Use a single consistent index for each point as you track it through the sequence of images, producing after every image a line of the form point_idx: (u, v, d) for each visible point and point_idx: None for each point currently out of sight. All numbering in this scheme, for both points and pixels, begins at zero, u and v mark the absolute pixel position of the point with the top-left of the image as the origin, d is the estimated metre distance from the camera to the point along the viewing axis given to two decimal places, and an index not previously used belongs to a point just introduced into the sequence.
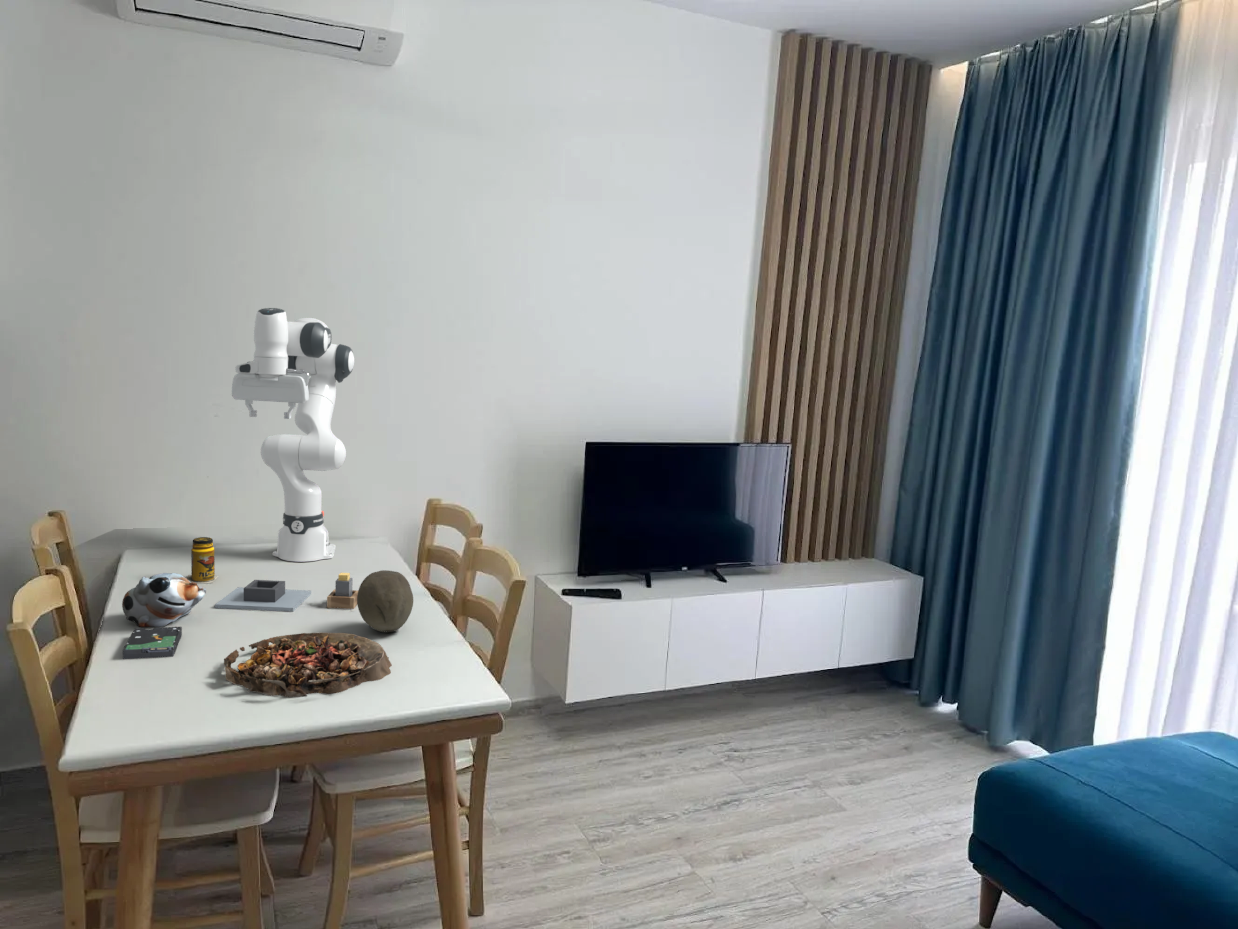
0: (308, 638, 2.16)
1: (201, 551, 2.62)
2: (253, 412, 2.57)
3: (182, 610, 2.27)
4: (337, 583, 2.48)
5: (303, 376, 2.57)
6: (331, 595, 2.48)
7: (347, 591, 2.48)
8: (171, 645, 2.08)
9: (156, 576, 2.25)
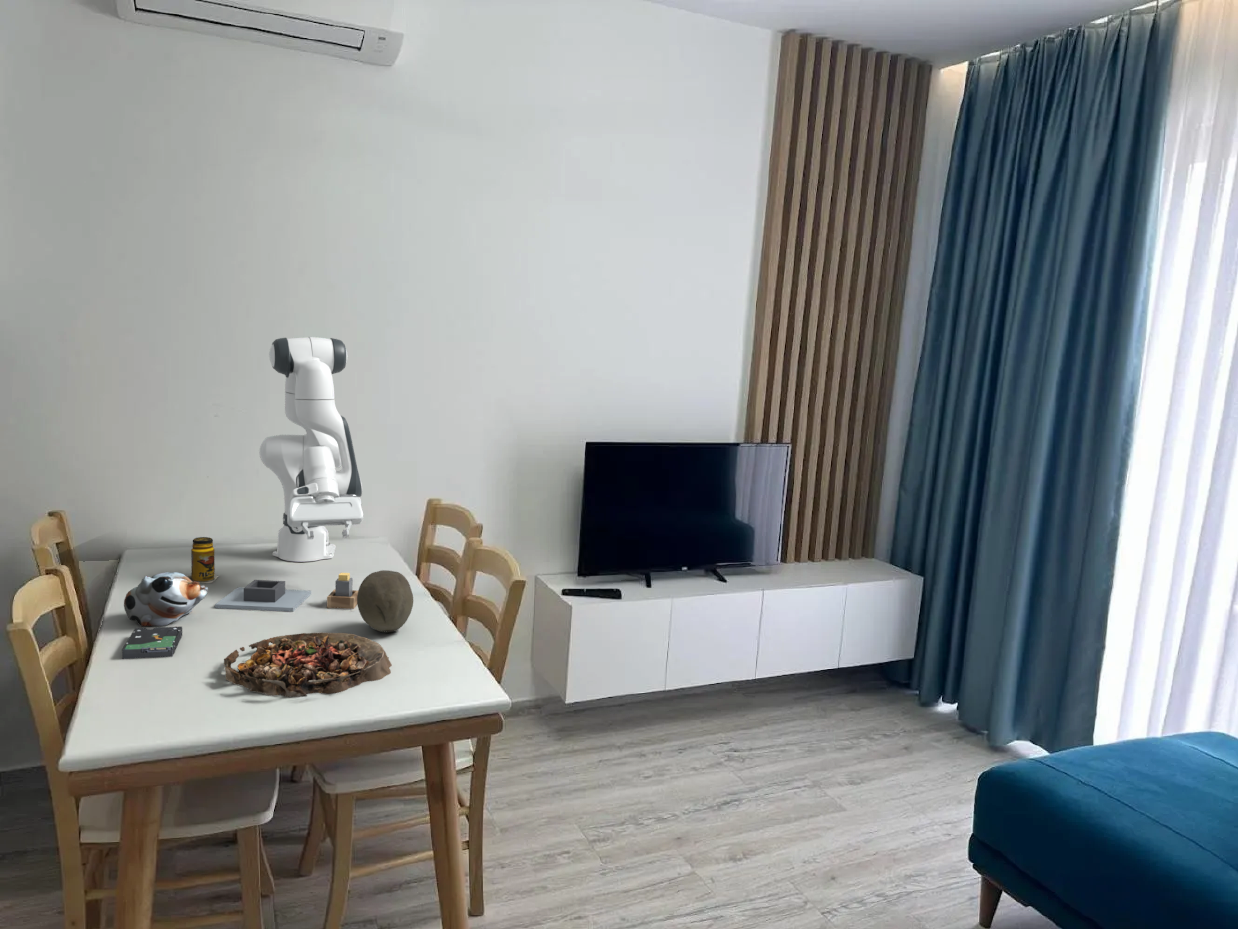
0: (308, 638, 2.16)
1: (201, 551, 2.62)
2: (312, 532, 2.54)
3: (184, 609, 2.27)
4: (337, 583, 2.48)
5: None
6: (331, 595, 2.48)
7: (347, 591, 2.48)
8: (170, 645, 2.08)
9: (158, 575, 2.25)
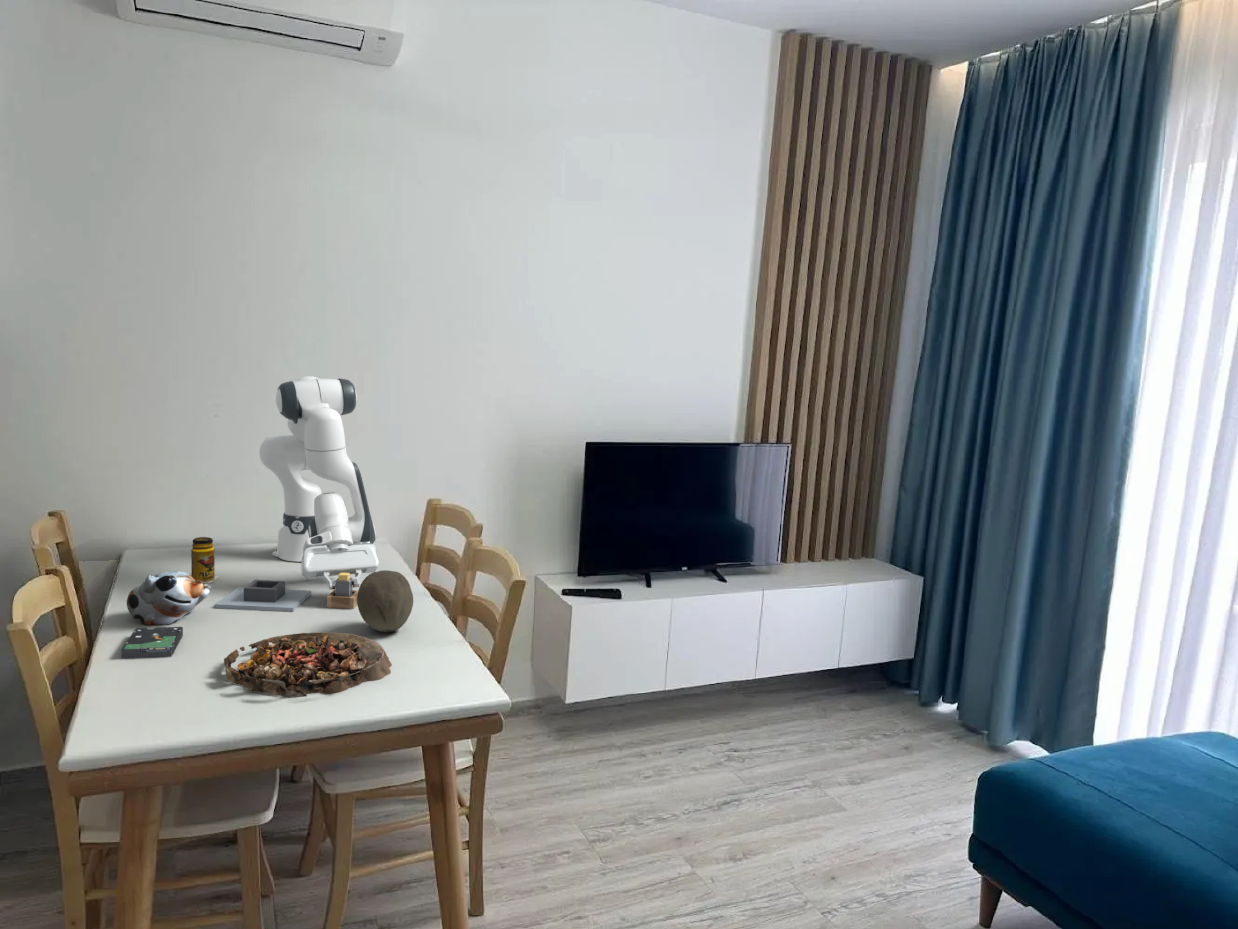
0: (308, 638, 2.16)
1: (201, 551, 2.62)
2: (333, 582, 2.48)
3: (188, 608, 2.29)
4: (337, 583, 2.48)
5: (370, 546, 2.60)
6: (331, 595, 2.48)
7: (347, 591, 2.48)
8: (170, 645, 2.08)
9: (162, 574, 2.27)
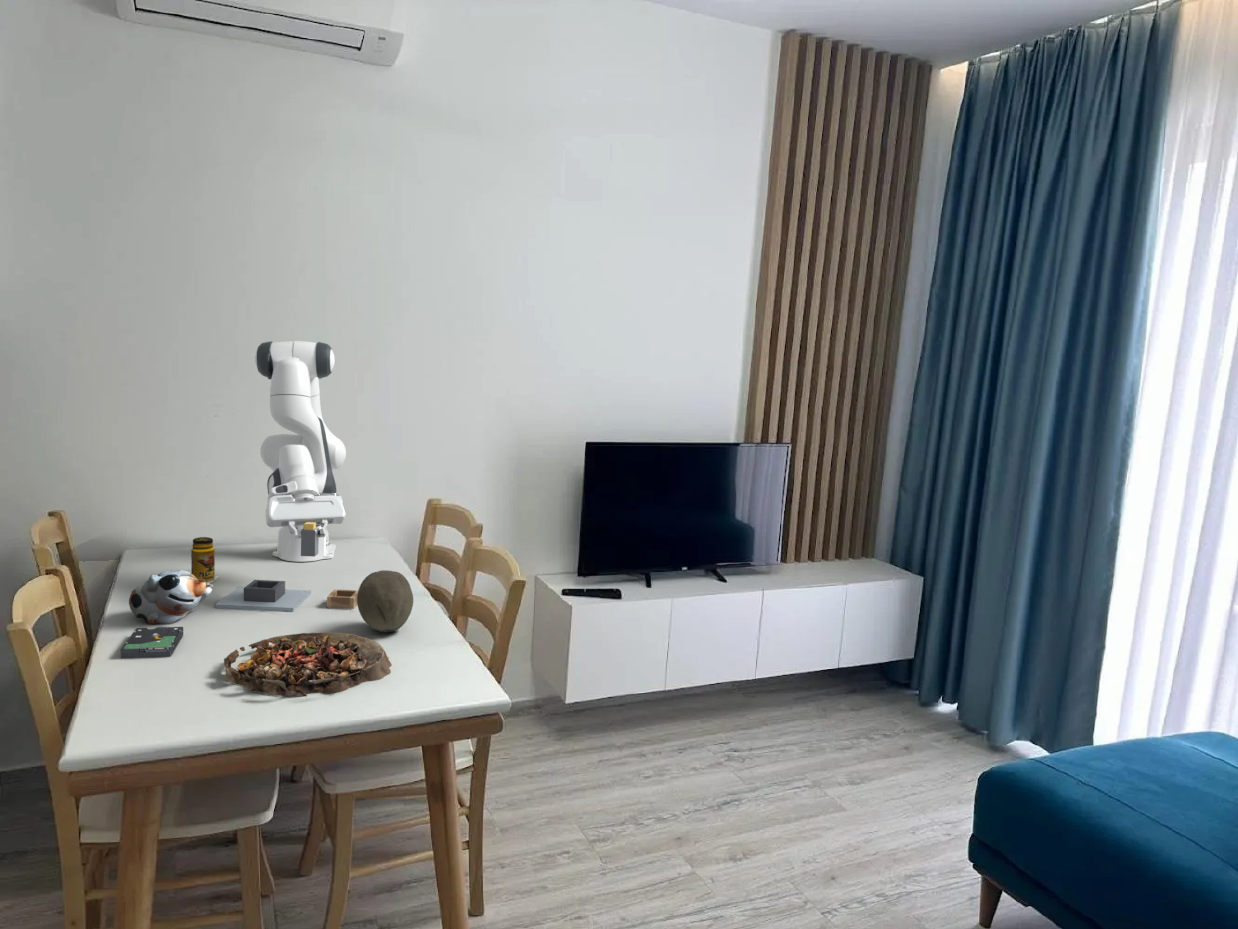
0: (308, 638, 2.16)
1: (201, 551, 2.62)
2: (299, 531, 2.44)
3: (191, 606, 2.30)
4: (303, 532, 2.44)
5: None
6: (331, 595, 2.48)
7: (313, 540, 2.44)
8: (169, 645, 2.08)
9: (164, 573, 2.27)
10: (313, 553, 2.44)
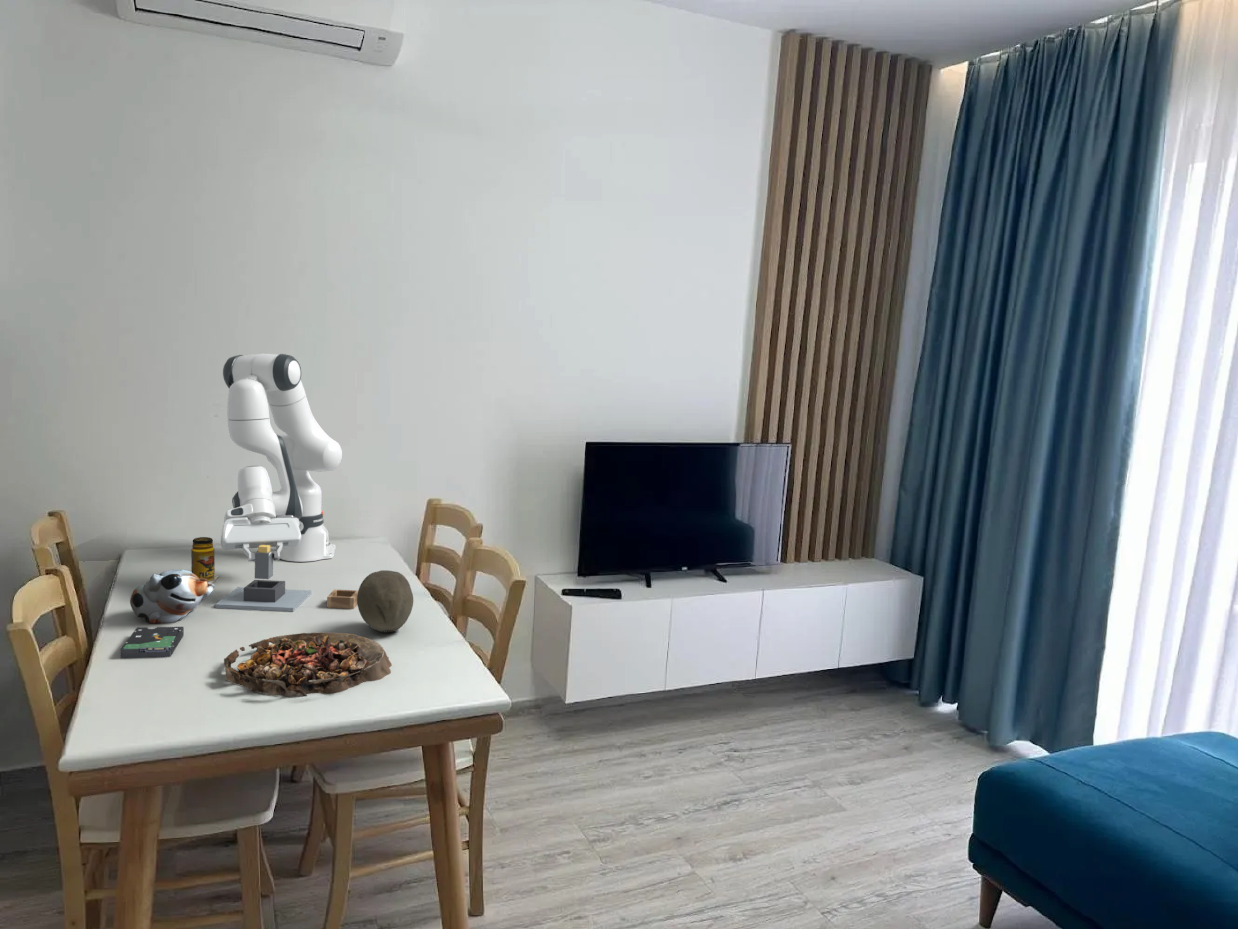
0: (308, 638, 2.16)
1: (201, 551, 2.62)
2: (253, 554, 2.46)
3: (192, 606, 2.30)
4: (257, 555, 2.46)
5: None
6: (331, 595, 2.48)
7: (267, 563, 2.46)
8: (169, 645, 2.08)
9: (166, 573, 2.28)
10: (267, 576, 2.47)
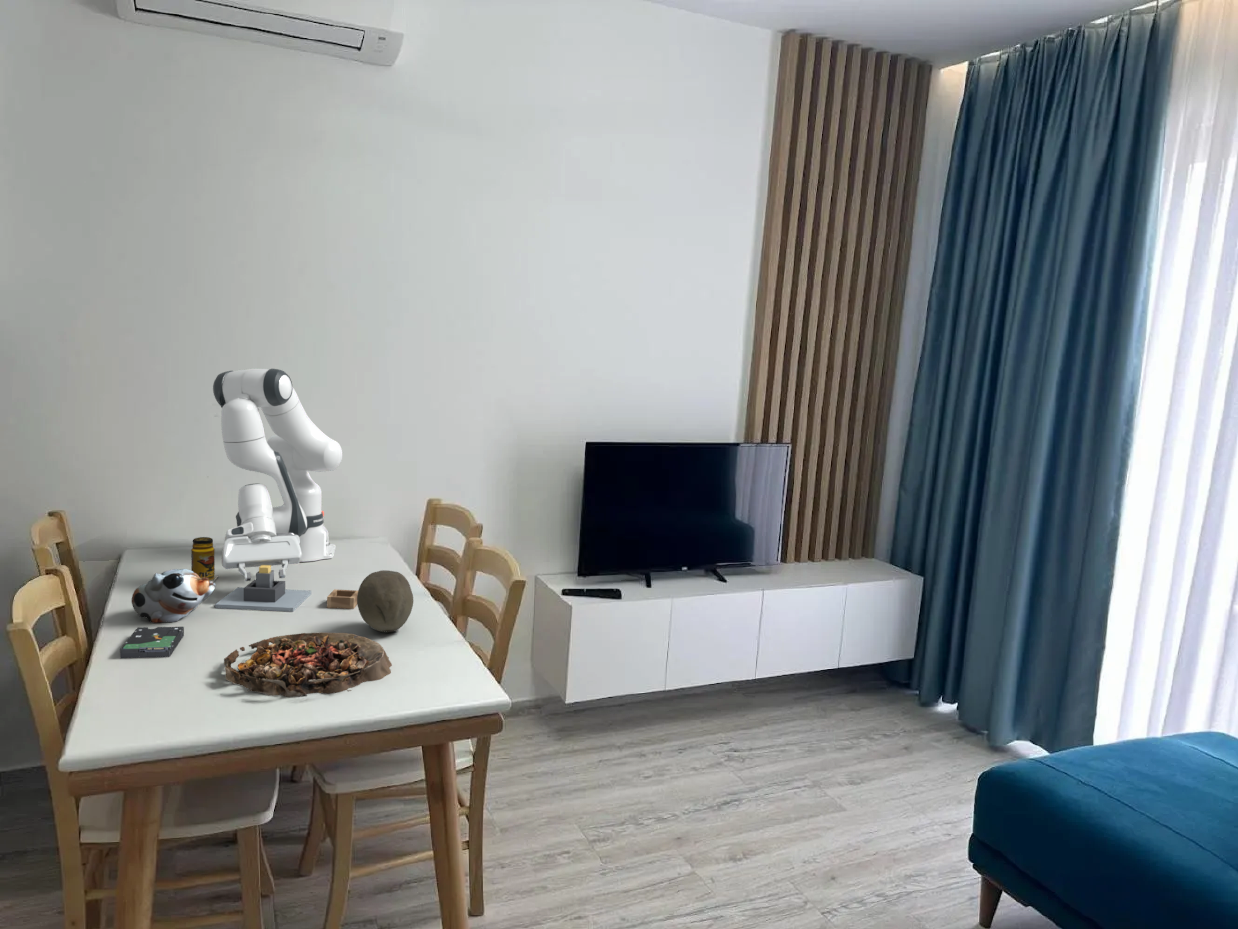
0: (308, 638, 2.16)
1: (201, 551, 2.62)
2: (249, 573, 2.47)
3: (194, 605, 2.31)
4: (257, 575, 2.47)
5: None
6: (331, 595, 2.48)
7: (268, 583, 2.47)
8: (168, 645, 2.08)
9: (168, 572, 2.29)
10: None
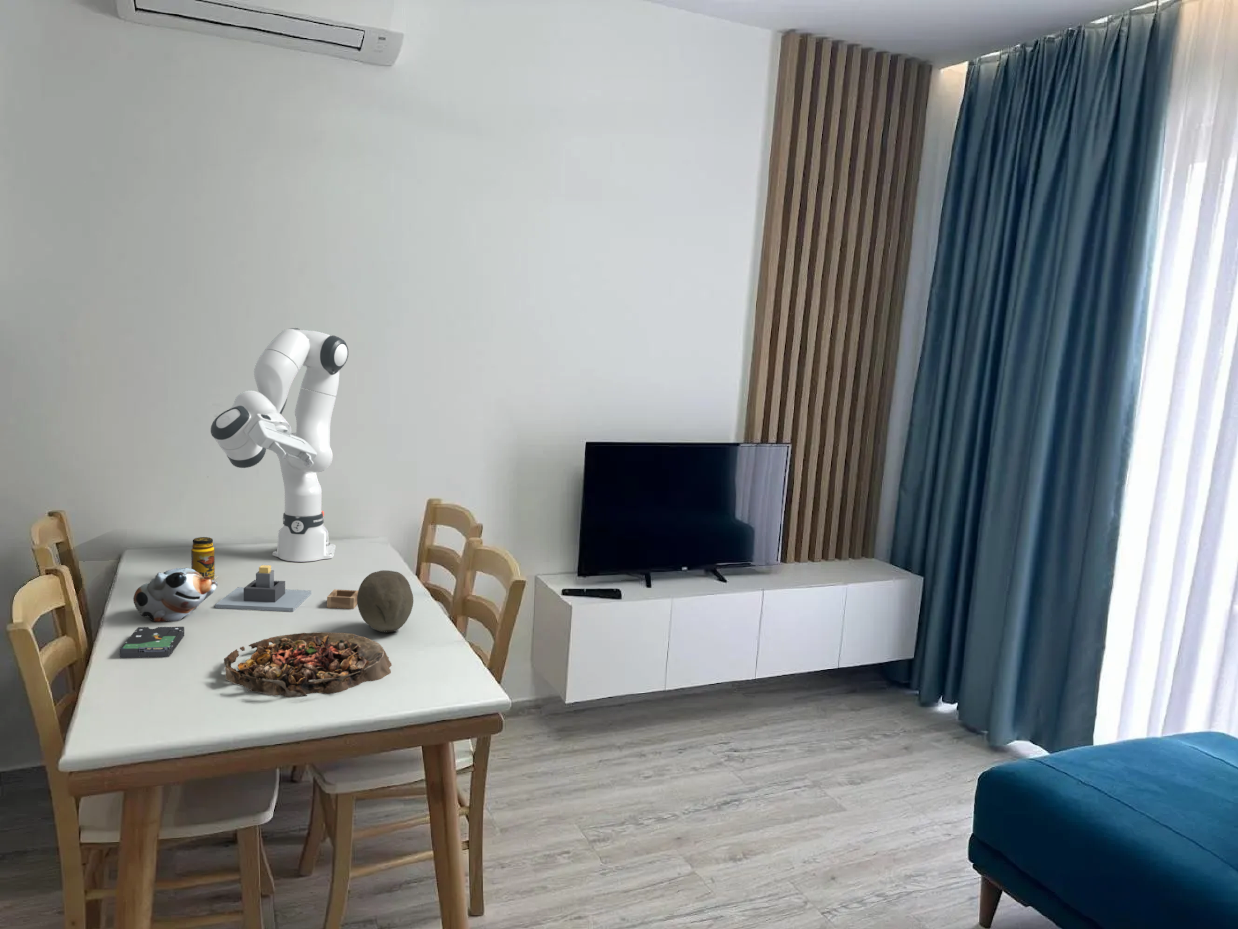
0: (308, 638, 2.16)
1: (201, 551, 2.62)
2: (285, 451, 2.47)
3: (197, 604, 2.32)
4: (257, 575, 2.47)
5: None
6: (331, 595, 2.48)
7: (268, 583, 2.47)
8: (168, 645, 2.08)
9: (170, 571, 2.29)
10: None
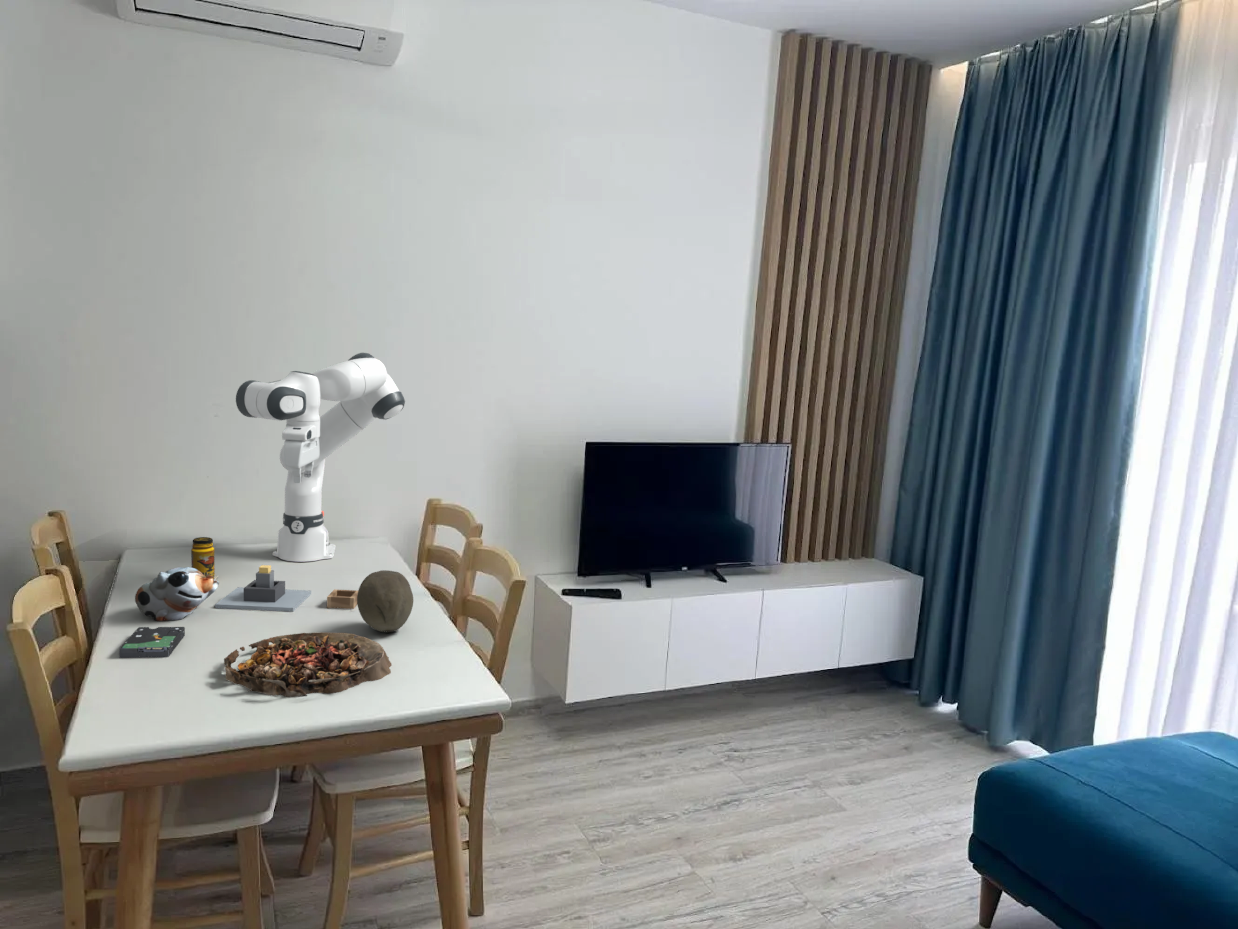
0: (308, 638, 2.16)
1: (201, 551, 2.62)
2: (301, 477, 2.54)
3: (199, 602, 2.33)
4: (257, 575, 2.47)
5: None
6: (331, 595, 2.48)
7: (268, 583, 2.47)
8: (167, 645, 2.08)
9: (172, 571, 2.30)
10: None
